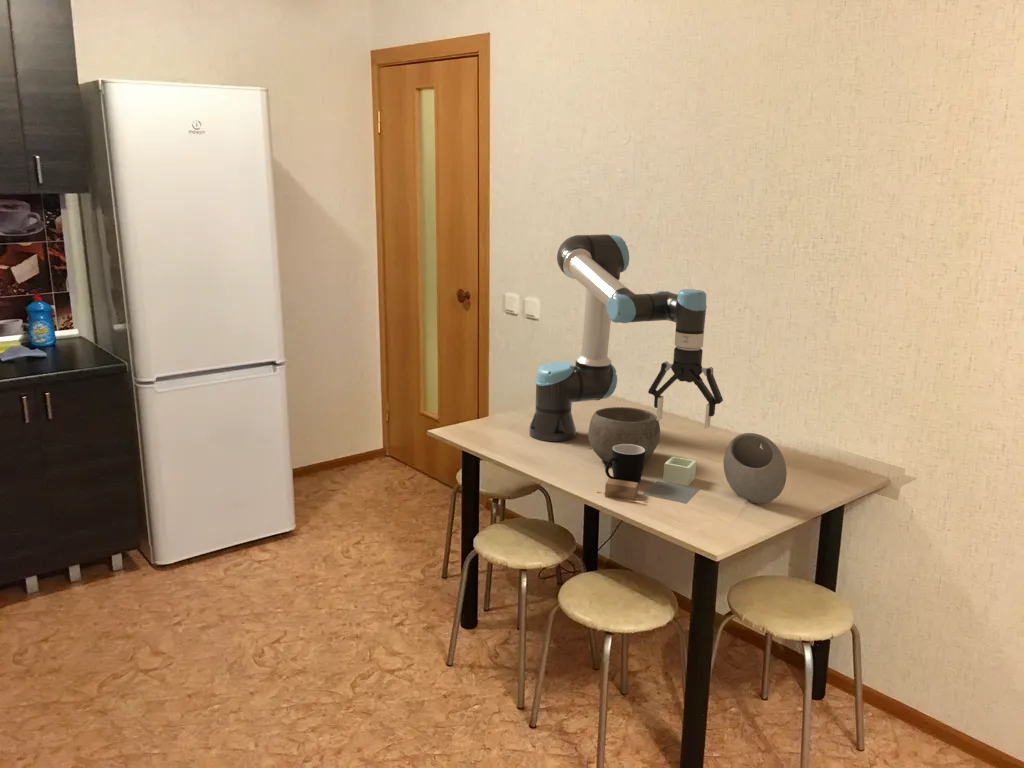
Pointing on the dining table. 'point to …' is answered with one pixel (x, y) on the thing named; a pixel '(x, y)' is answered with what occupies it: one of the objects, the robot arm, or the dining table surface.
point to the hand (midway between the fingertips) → (682, 423)
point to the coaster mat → (671, 492)
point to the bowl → (623, 430)
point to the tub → (679, 471)
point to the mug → (626, 462)
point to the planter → (755, 468)
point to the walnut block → (621, 489)
